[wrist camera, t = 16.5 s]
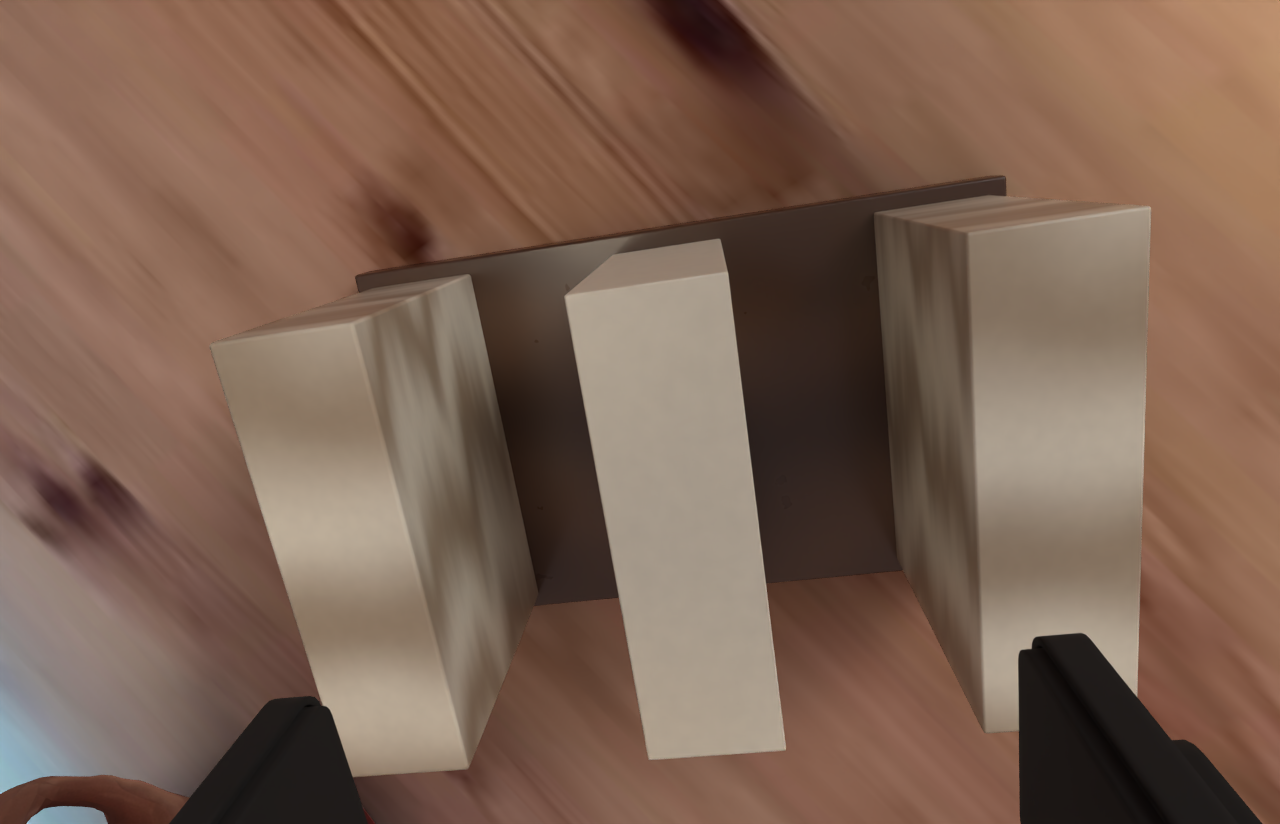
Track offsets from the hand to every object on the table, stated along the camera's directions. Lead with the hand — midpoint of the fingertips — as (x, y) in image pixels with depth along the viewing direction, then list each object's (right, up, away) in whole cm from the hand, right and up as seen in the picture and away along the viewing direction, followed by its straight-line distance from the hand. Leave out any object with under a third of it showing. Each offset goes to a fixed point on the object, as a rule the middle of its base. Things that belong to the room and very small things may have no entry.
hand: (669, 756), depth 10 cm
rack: (+1, +5, +17) cm, 18 cm away
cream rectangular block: (+1, +4, +16) cm, 17 cm away
